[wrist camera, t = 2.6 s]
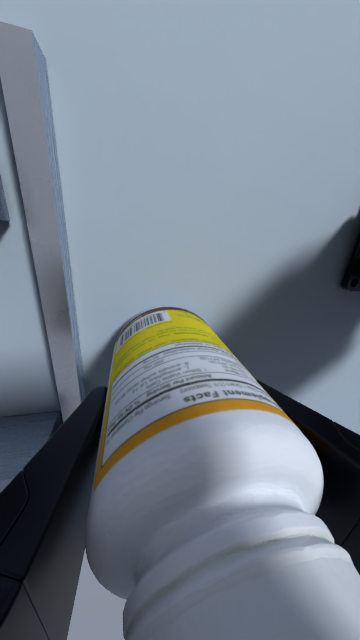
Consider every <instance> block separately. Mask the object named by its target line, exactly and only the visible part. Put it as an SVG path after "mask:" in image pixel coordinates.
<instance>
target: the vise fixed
mask: <svg viewBox="0 0 360 640" xmlns="http://www.w3.org/2000/svg"><path fill="white" fill-rule="evenodd" d="M0 78H1V83H2V89H3V94H4V100H5V105H6V111H7V116H8V122H9V127H10V133H11V138H12V144H13V149H14V155H15V160H16V165H17V171H18V176H19V182H20V187H21V193H22V198H23V204H24V209H25V215H26V220H27V226H28V231H29V237H30V242H31V248H32V253H33V259H34V264H35V270H36V275H37V281H38V286H39V292H40V297H41V303H42V308H43V314H44V319H45V325H46V330H47V336H48V341H49V347H50V352H51V358H52V363H53V369H54V374H55V379H56V385H57V390H58V396H59V401H60V407H61V412H62V418H63V423H64V422H65V421H66V419H67V418H68V417H69V416H70V415H71V414H72V413H73V412H74V411H75V409H76V408H77V407H78V406H79V405H80V404H81V403H82V402H83V401H84V399H85V398H86V394H85V386H84V377H83V369H82V361H81V352H80V344H79V335H78V327H77V319H76V310H75V302H74V294H73V285H72V277H71V268H70V260H69V252H68V243H67V235H66V227H65V218H64V210H63V201H62V193H61V185H60V176H59V168H58V160H57V151H56V143H55V134H54V126H53V118H52V109H51V101H50V93H49V84H48V76H47V67H46V59H45V57H44V55H43V53H42V50H41V48H40V46H39V44H38V42H37V40H36V38H35V36H34V34H33V32H32V30H29V29H25V28H21V27H18V26H14V25H11V24H7V23H4V22H0ZM61 425H62V422H61V417H60V411H59V412H49V413H39V414H29V415H19V416H9V417H0V493H1V491H2V490H3V489H4V488H5V487H6V486H7V485H8V484H9V483H10V482H11V481H12V479H13V478H14V477H15V476H16V475H17V474H18V473H19V472H20V471H23V467H24V466H25V465H26V464H27V463H28V462H29V461H30V460H31V458H32V457H33V456H34V455H35V454H36V453H37V452H38V451H39V450H40V448H41V447H42V446H43V445H44V444H45V443H46V442H47V441H48V440H49V438H50V437H51V436H52V435H53V434H54V433H55V432H56V431H57V430H58V428H59V427H60V426H61Z"/></svg>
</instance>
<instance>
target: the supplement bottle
mask: <svg viewBox="0 0 360 640" xmlns="http://www.w3.org/2000/svg"><path fill="white" fill-rule="evenodd" d="M323 488H324V480H323V470H322V466H321V462H320V460H319V458H318V455H317V453H316V451H315V449H314V448H313V446H312V445H311V443H310V442H309V440H308V439H307V438H306V437H305V436H304V435H303V433H302V432H301V431H300V429H299V428H298V427H297V426H296V425H295V424H294V422H293V421H292V420H291V419H290V418H289V417H288V416H287V415H286V414H285V412H284V411H283V410H282V409H281V408H280V407H279V406H278V405H277V403H276V402H275V401H274V400H273V399H272V398H271V397H270V396H269V394H268V393H267V392H266V391H265V390H264V389H263V388H262V386H261V385H260V384H259V383H258V382H257V381H256V380H255V378H254V377H253V376H252V375H251V374H250V373H249V371H248V370H247V369H246V368H245V367H244V366H243V365H242V364H241V363H240V361H239V360H238V359H237V358H236V357H235V356H234V355H233V353H232V352H231V351H230V350H229V349H228V348H227V346H226V345H225V344H224V343H223V342H222V341H221V340H220V339H219V337H218V336H217V335H216V334H215V333H214V332H213V331H212V329H211V328H210V327H209V326H208V325H207V324H206V322H205V321H204V320H203V319H201V318H200V317H199V316H198V315H196V314H195V313H193V312H192V311H189V310H187V309H185V308H181V307H177V306H158V307H154V308H150V309H147V310H145V311H143V312H141V313H139V314H137V315H136V316H134V317H133V318H132V319H131V320H130V321H129V322H128V323H127V324H126V325H125V326H124V327H123V329H122V330H121V332H120V333H119V335H118V337H117V340H116V343H115V346H114V352H113V358H112V364H111V370H110V376H109V382H108V389H107V396H106V402H105V409H104V415H103V421H102V427H101V433H100V440H99V446H98V453H97V459H96V466H95V472H94V478H93V485H92V491H91V496H90V502H89V509H88V515H87V522H86V533H85V548H86V554H87V559H88V563H89V565H90V568H91V570H92V572H93V574H94V575H95V577H96V578H97V580H98V581H99V583H101V585H103V586H104V587H105V588H106V589H107V590H109V591H110V592H112V593H113V594H115V595H117V596H119V597H121V598H124V599H126V600H127V601H126V603H125V607H124V611H123V634H124V639H125V640H360V575H359V573H358V572H357V570H356V568H355V567H354V565H353V562H352V560H351V557H350V555H349V554H348V552H347V551H346V550H345V549H343V548H342V547H340V546H339V545H336V544H334V538H333V536H332V535H331V533H330V531H329V529H328V528H327V526H326V525H325V524H324V522H323V521H322V520H321V519H320V518H318V517H317V516H315V515H316V512H317V510H318V508H319V506H320V502H321V499H322V495H323Z"/></svg>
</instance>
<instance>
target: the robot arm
mask: <svg viewBox="0 0 360 640" xmlns="http://www.w3.org/2000/svg"><path fill="white" fill-rule="evenodd" d="M341 287H342V288H343V289H345V290H349V291H360V234H359V237H358V239H357V242H356V245H355V247H354V250H353V253H352V255H351V258H350V261H349V263H348V266H347V269H346V271H345V274H344V277H343V279H342V283H341ZM255 380H256V379H255ZM256 381H257V382H258V383H259V384H260V385H261V386H262V388H263V389H264V390H265V391H266V392H267V393H268V394H269V396H270V397H271V398H272V399H273V400H274V401H275V402H276V403H277V405H278V406H279V407H280V408H281V409H282V410H283V411H284V412H285V414H286V415H287V416H288V417H289V418H290V419H291V420H292V421H293V422H294V424H295V425H296V426H297V427H298V428H299V429H300V431H301V432H302V433H303V435H304V436H305V437H306V438H307V439H308V440H309V442H310V443H311V445H312V446H313V448H314V449H315V451H316V453H317V455H318V458H319V460H320V462H321V466H322V470H323V480H324V488H323V495H322V499H321V502H320V506H319V508H318V510H317V512H316V515H315V516H317V517H318V518H320V519H321V520H322V521H323V522H324V524H325V525H326V526H327V528H328V529H329V531H330V533H331V535H332V536H333V538H334V544H336V545H339V546H340V547H342V548H343V549H345V550H346V551H347V552H348V554H349V555H350V557H351V560H352V562H353V565H354V567H355V568H356V570H357V572H358V573H359V575H360V435H358V434H357V433H355V432H353V431H351V430H349V429H347V428H345V427H343V426H341V425H340V424H338V423H336V422H333V421H332V420H330V419H329V418H327V417H325V416H323V415H321V414H319V413H317V412H316V411H314V410H312V409H310V408H308V407H306V406H304V405H303V404H301V403H299V402H297V401H295V400H293V399H292V398H290V397H288V396H286V395H284V394H282V393H280V392H279V391H277V390H275V389H273V388H271V387H269V386H268V385H266V384H264V383H262V382H260V381H258V380H256ZM106 396H107V387H106V386H102V387H96V388H94V389H93V391H92V392H91V393H90V394H89V395H88V396H87V397H86V398H85V399H84V401H83V402H82V403H81V404H80V405H79V406H78V407H77V408H76V409H75V411H74V412H73V413H72V414H71V415H70V416H69V417H68V418H67V419H66V421H65V422H64V423H63V424H62V425H61V426H60V427H59V428H58V430H57V431H56V432H55V433H54V434H53V435H52V436H51V437H50V438H49V440H48V441H47V442H46V443H45V444H44V445H43V446H42V447H41V448H40V450H39V451H38V452H37V453H36V454H35V455H34V456H33V457H32V458H31V460H30V461H29V462H28V463H27V464H26V465H25V466H24V467H23V471H20V472H19V473H18V474H17V475H16V476H15V477H14V478H13V479H12V481H11V482H10V483H9V484H8V485H7V486H6V487H5V488H4V489H3V490H2V491H1V493H0V640H67V635H68V630H69V625H70V620H71V615H72V610H73V605H74V600H75V595H76V590H77V585H78V580H79V575H80V570H81V565H82V560H83V555H84V550H85V533H86V522H87V515H88V509H89V502H90V496H91V491H92V485H93V478H94V472H95V466H96V459H97V453H98V446H99V440H100V433H101V427H102V421H103V415H104V409H105V402H106Z"/></svg>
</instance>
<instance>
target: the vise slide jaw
mask: <svg viewBox="0 0 360 640" xmlns="http://www.w3.org/2000/svg"><path fill="white" fill-rule="evenodd" d="M0 220H5V221H10V219H9V214H8V209H7V204H6V200H5V195H4V190H3V185H2V181H1V176H0Z"/></svg>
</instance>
